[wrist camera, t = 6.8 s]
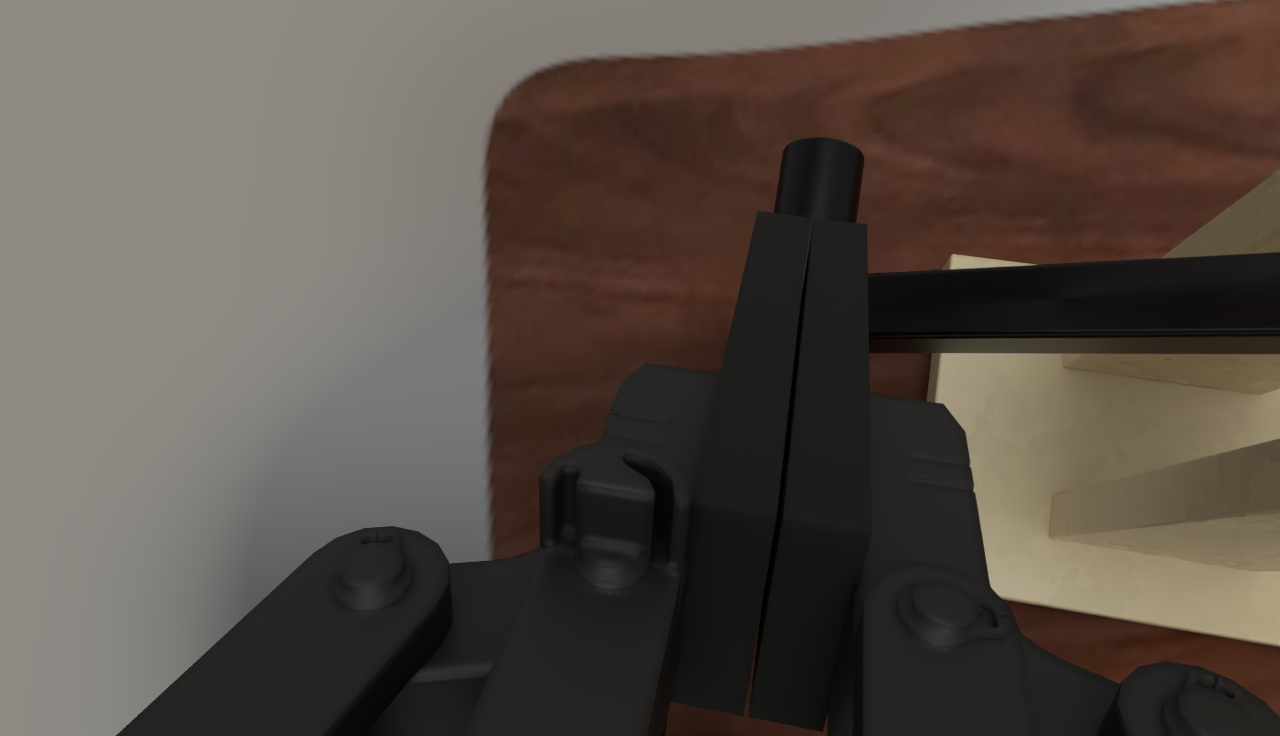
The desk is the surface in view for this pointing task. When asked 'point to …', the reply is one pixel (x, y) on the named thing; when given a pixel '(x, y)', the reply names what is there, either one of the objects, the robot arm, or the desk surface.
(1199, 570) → the bracket
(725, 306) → the desk surface
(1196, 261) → the lever
